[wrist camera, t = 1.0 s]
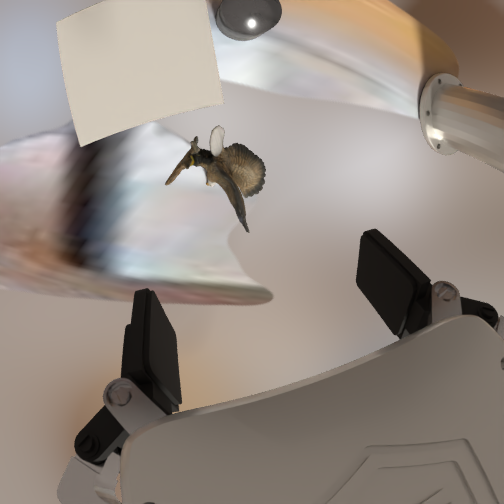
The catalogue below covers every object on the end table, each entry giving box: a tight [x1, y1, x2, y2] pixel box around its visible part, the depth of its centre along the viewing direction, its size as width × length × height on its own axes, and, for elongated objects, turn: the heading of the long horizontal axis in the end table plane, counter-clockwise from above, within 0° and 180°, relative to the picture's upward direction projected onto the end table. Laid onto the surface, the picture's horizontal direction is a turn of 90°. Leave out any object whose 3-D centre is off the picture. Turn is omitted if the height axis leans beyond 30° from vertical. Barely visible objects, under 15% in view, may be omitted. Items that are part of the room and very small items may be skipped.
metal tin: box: [216, 0, 282, 41], centre depth 17 cm, size 5×5×4 cm
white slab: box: [56, 0, 224, 147], centre depth 17 cm, size 13×13×3 cm
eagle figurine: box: [165, 126, 266, 233], centre depth 24 cm, size 8×7×9 cm
